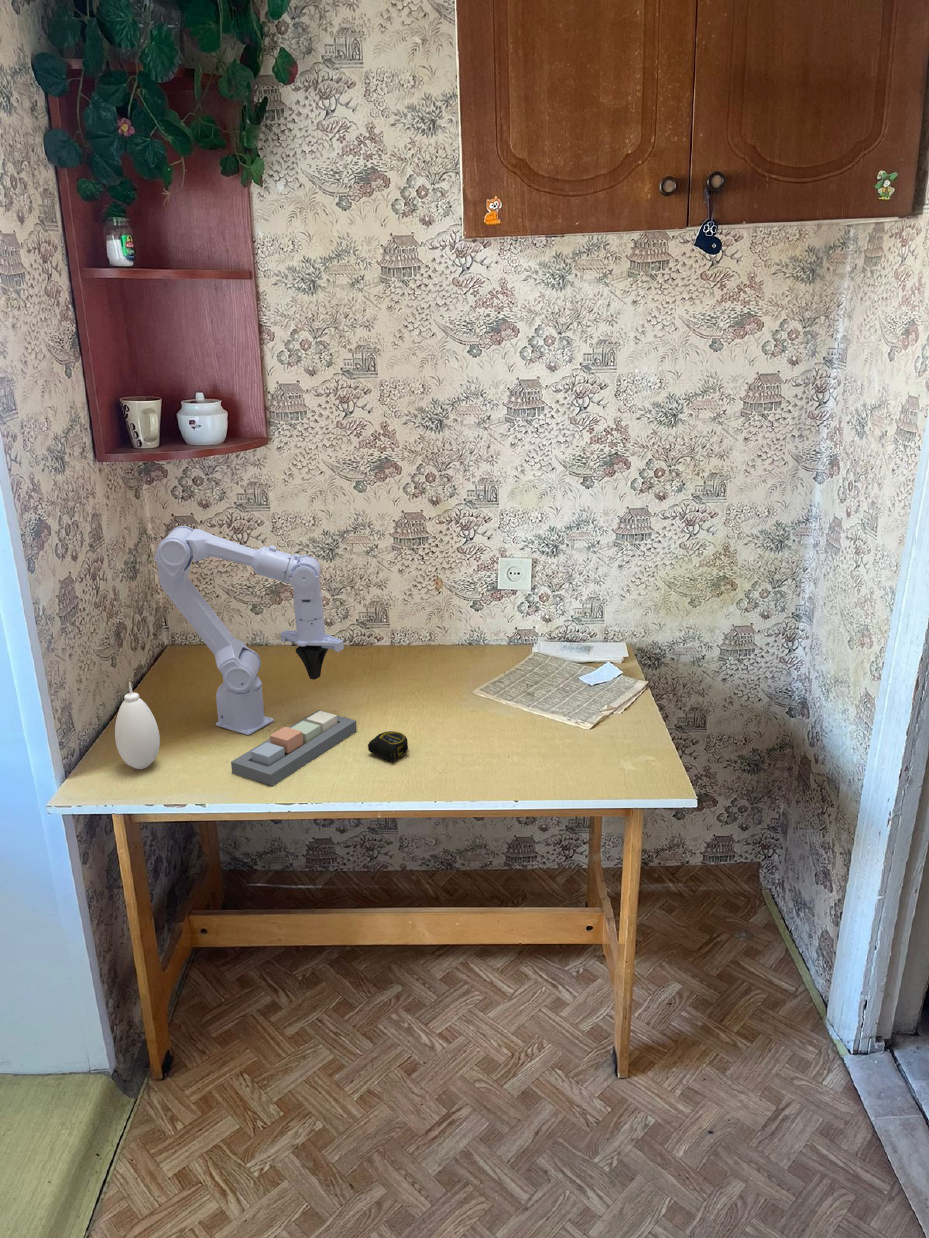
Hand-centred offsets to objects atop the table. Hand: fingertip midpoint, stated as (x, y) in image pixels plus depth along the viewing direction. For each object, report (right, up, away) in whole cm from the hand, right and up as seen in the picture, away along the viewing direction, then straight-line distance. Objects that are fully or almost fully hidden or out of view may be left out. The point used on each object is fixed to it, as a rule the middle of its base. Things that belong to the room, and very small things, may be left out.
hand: (315, 677), depth 197 cm
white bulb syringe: (-31, -17, -14) cm, 38 cm away
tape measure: (+16, -15, -10) cm, 25 cm away
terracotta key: (-4, -13, -11) cm, 18 cm away
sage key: (-1, -12, -7) cm, 14 cm away
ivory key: (+2, -10, -2) cm, 11 cm away
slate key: (-6, -15, -15) cm, 23 cm away
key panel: (-2, -14, -8) cm, 17 cm away
